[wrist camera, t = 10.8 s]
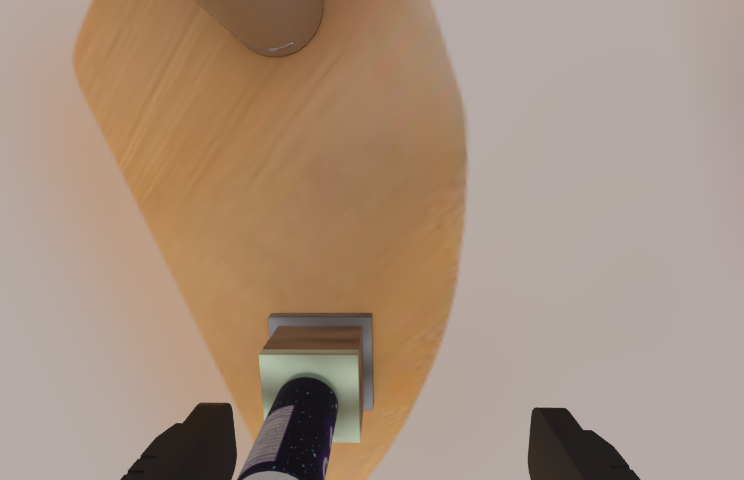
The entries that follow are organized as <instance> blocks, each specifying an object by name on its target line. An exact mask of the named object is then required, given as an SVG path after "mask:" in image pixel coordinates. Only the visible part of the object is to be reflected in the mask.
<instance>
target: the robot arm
mask: <svg viewBox="0 0 744 480" xmlns="http://www.w3.org/2000/svg"><path fill="white" fill-rule="evenodd" d="M194 1H195V2H196V3H197V4H198V5H199V6H201V7H202V8H203V9H204V10H205V11H206V12H207V13H209V14H210V15H211V16H212V17H213V18H214V19H215V20H217V21H218V22H219V23H220V24H221V25H222V26H223V27H225V28H226V29H227V30H228V31H229V32H230V33H232V34H233V35H234V36H235V37H236V38H237V39H239V40H240V41H241V42H242V43H243V44H244V45H245V46H247V47H248V48H249V49H251V50H253V51H255V52H256V53H259V54H262V55H265V56H273V57H279V56H286V55H289V54H292V53H294V52H297V51H298V50H300V49H301V48H302V47H304V46H305V45H306V44H307V43H308V42H309V41H310V40H311V39H312V37H313V36H314V34H315V32H316V31H317V29H318V26H319V24H320V21H321V18H322V11H323V0H194ZM236 458H237V449H236V441H235V430H234V421H233V411H232V407H231V405H230V404H229V403H199V404H198V405H197V406H196V407H195V408H194V410H193V411H192V412H191V413H190V415H189V416H188V417H187V419H186V420H185V421H184V422H183V423H176V424H174V425H173V426H172V427H170V428H169V429H167V430H166V431H165V432H163V433H162V434H160V435H159V436H158V437H156V438H155V440H154V441H153V442H152V443H151V444H150V445H149V446H148V448H147V449H146V450H145V451H144V452H143V454H142V455H141V458H140V459H138V460H137V461H136V462H135V463H134V464H133V465H132V467H131V468H130V469H129V470H128V473H127V475H124V476H123V477H122V478H121V480H231V479H232V476H233V473H234V470H235V465H236ZM528 468H529V474H530V478H531V480H640V479H639V477H638V476H637V475H636V474H635V473H634V471H633V470H630V468H629V465H628V464H627V463H626V462H625V460H624V459H623V458H622V456H621V455H620V454H619V453H618V452H617V450H616V449H615V448H614V447H613V446H612V445H611V444H609V443H608V442H607V441H605V440H604V439H603V438H601V437H600V436H599V435H597V434H596V433H595V432H593V431H592V430H583V429H582V428H581V427H580V425H579V424H578V423H577V421H576V420H575V419H574V417H573V416H572V415H571V413H570V412H569V411H568V410H567V409H566V408H534V409H533V411H532V416H531V426H530V438H529V450H528Z"/></svg>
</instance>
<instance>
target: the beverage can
mask: <svg viewBox="0 0 744 480" xmlns="http://www.w3.org/2000/svg"><path fill="white" fill-rule="evenodd" d="M337 413H338V401H337V397H336V395H335V393H334V392H333V390H332V389H331V388H330V387H329V386H328V385H327V384H325V383H324V382H322V381H320V380H318V379H315V378H310V377H300V378H295V379H293V380H290V381H289V382H287V383H286V384H284V385H283V386H282V387H281V389H280V390H279V392H278V394H277V396H276V398H275V400H274V402H273V405H272V407H271V409H270V411H269V413H268V415H267V417H266V419H265V422H264V424H263V426H262V428H261V430H260V432H259V434H258V436H257V439H256V441H255V443H254V445H253V447H252V449H251V451H250V453H249V456H248V458H247V460H246V462H245V464H244V466H243V468H242V470H241V472H240V475H239V477H238V479H237V480H325V477H326V471H327V466H328V461H329V456H330V450H331V445H332V440H333V434H334V429H335V424H336V418H337Z"/></svg>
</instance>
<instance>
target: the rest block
mask: <svg viewBox="0 0 744 480" xmlns="http://www.w3.org/2000/svg"><path fill="white" fill-rule="evenodd" d="M268 319H269V332H270V339H269V340H268V342H267V343H266V345H265V346H264V348H263V349H262V351H261V352H260V354H259V365H260V376H261V388H262V399H263V411H264V422H265V419H266V417H267V415H268V413H269V411H270V409H271V407H272V405H273V402H274V400H275V398H276V396H277V394H278V392H279V390H280V389H281V387H282V386H283V385H284V384H286V383H287V382H289V381H290V380H293V379H295V378H300V377H310V378H315V379H318V380H320V381H322V382H324V383H325V384H327V385H328V386H329V387H330V388H331V389H332V390H333V392H334V393H335V395H336V397H337V401H338V413H337V418H336V424H335V429H334V434H333V440H332V442H358V443H360V437H361V426H362V416H363V410H373V361H372V314H271V315H270V316H269V317H268Z"/></svg>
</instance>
